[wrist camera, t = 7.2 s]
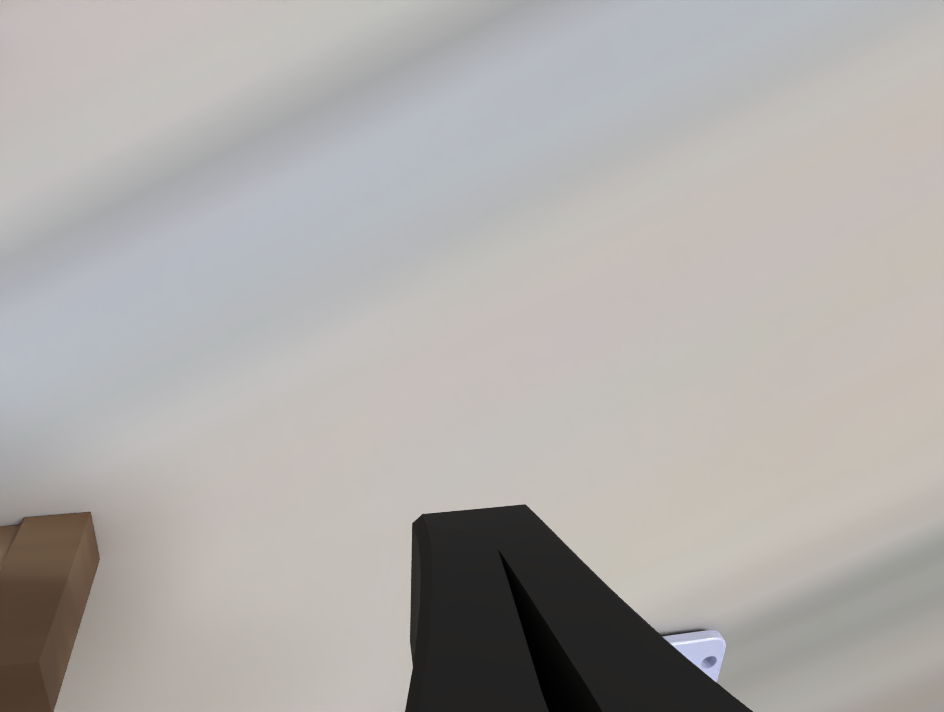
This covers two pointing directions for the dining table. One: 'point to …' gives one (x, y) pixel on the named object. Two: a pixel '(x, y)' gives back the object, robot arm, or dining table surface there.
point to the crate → (42, 605)
